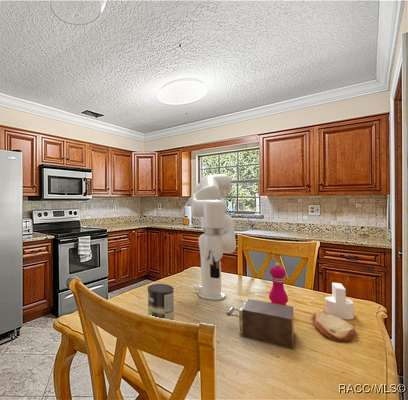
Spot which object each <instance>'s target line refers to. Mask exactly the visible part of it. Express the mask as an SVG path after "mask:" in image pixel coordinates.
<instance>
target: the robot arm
mask: <svg viewBox="0 0 408 400" xmlns="http://www.w3.org/2000/svg"><path fill="white" fill-rule="evenodd" d="M231 189H232V179H231V177H230V176H229V175H228V174H226V173H221V174H218V173H217V174H207V175H204V176H202V177H201V179H200V181H199V183H197V184H196V185H195V186H194V194H193V195H192V196H191V200H190V211H191V214H192V215H193V217H195V218H200V228H201V230H202V232H203V234H200V236H198V239H197V240H198V248H199V254H200V255H199V256H200V283H201V284H199V285H198V284H193V289H194V290H195V291H198V292H197V295H198V296H199V297H200V298H202V299H204V300H205V299H206V300H210V301H219V300H224V299H225V298H226V295H225V293H224V292H222V263H221V259H222V258H223V255H224V254H231V253H235V251H236V249H237V241H236V232H235V231H236V230H235V224H234V223H235V222H234V219H233V217H232V216H231V215H229V214H227V213H228V205H227V203H226V202H225V201H224V199H223V198H227V197H228V196H229V194H230V192H231ZM221 198H222V199H223V200H222V199H221Z"/></svg>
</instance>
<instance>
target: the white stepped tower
mask: <svg viewBox="0 0 408 400" xmlns="http://www.w3.org/2000/svg"><path fill="white" fill-rule="evenodd" d="M346 291H347V289H346V287H345V286H344V285H343V284H342V283H340V282H331V294H332V295H330V296H329V295H328V296H324V305H325V307H324V308H325V309H324V311H325V312H324V313H327V314H331V315H334V316H336V317H338V318H341V319H343V320H353V319H354V318H355V309H354V308H355V307H354V301H353V300H351V299H348V298H347V295H346V294H347V293H346Z"/></svg>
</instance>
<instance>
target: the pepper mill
mask: <svg viewBox="0 0 408 400" xmlns="http://www.w3.org/2000/svg"><path fill="white" fill-rule="evenodd" d="M274 265H275V266H271V267H270V269H269V274H270V275H271V277H270V278H271V281H272V287H271V289H270V292H269V294H268V298H269V300H270V303H275V304H281V305H286V306H288V305H287V303H288V302H289V297H288V294H287V291H286V289H285V287H284V286H285V285H284V282H285V277H286V275H287V272H286V270H285V268H284V267H282V266H281V264H280V263H279V262H276V263H275V264H274Z"/></svg>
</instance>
